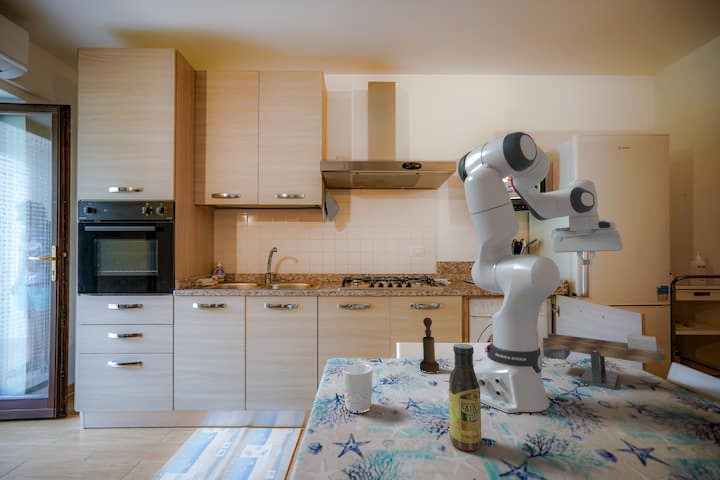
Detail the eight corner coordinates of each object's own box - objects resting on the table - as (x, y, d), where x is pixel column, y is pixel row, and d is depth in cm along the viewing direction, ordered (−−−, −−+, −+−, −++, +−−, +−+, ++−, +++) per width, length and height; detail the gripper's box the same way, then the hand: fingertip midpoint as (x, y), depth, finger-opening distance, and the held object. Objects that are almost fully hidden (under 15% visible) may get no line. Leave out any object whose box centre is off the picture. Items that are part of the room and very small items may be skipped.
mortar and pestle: (442, 369, 108) (439, 316, 109) (435, 375, 102) (433, 320, 104) (423, 366, 111) (421, 315, 113) (417, 371, 106) (415, 318, 107)
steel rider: (628, 353, 89) (627, 337, 89) (629, 349, 93) (628, 334, 94) (657, 357, 85) (655, 341, 85) (656, 352, 89) (655, 337, 90)
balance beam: (543, 356, 102) (542, 335, 102) (550, 350, 109) (549, 330, 110) (666, 377, 82) (664, 351, 83) (665, 368, 89) (663, 343, 90)
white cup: (377, 404, 83) (376, 365, 83) (366, 417, 75) (364, 375, 76) (351, 399, 86) (350, 362, 87) (337, 412, 79) (337, 371, 80)
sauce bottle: (464, 456, 60) (459, 351, 61) (443, 439, 65) (439, 344, 67) (490, 447, 62) (484, 347, 64) (467, 432, 68) (463, 340, 69)
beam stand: (580, 382, 93) (578, 350, 94) (587, 370, 103) (585, 341, 104) (614, 389, 88) (611, 355, 88) (618, 375, 98) (615, 345, 99)
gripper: (548, 228, 115) (551, 265, 114) (620, 222, 101) (623, 264, 100) (552, 229, 120) (555, 264, 119) (621, 223, 106) (624, 264, 105)
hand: (587, 264), depth 109 cm, fingers closed
